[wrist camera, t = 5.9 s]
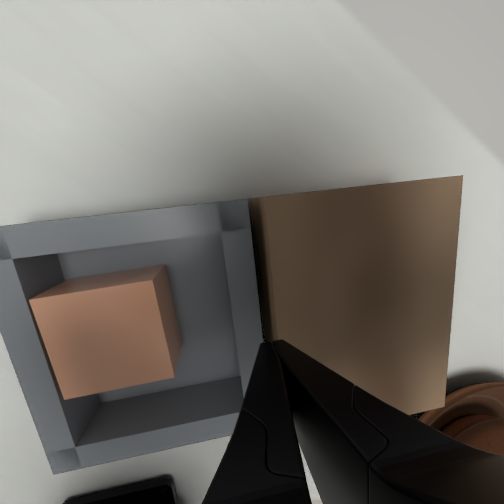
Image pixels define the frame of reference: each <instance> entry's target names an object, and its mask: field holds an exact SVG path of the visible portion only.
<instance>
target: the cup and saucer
mask: <svg viewBox="0 0 504 504" xmlns="http://www.w3.org/2000/svg"><path fill="white" fill-rule="evenodd" d="M418 420H419V421H421V422H423V423H425V424H427V425H429V426H431V427H433V428H435V429H437V430H439V431H441V432H443V433H444V434H446V435H448V436H450V437H452V438H454V439H456V440H458V441H460V442H462V443H464V444H466V445H469V446H471V447H474V448H476V449H479V450H483V451H486V452H490V453H495V454H500V455H504V382H492V383H481V384H475V385H471V386H467V387H464V388H461V389H459V390H457V391H454V392H452V393H450V394H449V395H447V396H445V406H444V407H441V408H437V409H433V410H428V411H425V412H424V413H423V414H422V416H421V417H420V418H419V419H418Z"/></svg>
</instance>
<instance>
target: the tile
mask: <svg viewBox="0 0 504 504" xmlns="http://www.w3.org/2000/svg"><path fill="white" fill-rule="evenodd" d="M29 302H30V305H31V308H32V310H33V313H34V316H35V319H36V322H37V325H38V327H39V330H40V333H41V336H42V339H43V342H44V344H45V347H46V350H47V353H48V356H49V359H50V361H51V364H52V367H53V370H54V373H55V376H56V378H57V381H58V384H59V387H60V390H61V392H62V395H63V398H64V400H67V399H71V398H76V397H81V396H86V395H91V394H96V393H101V392H106V391H110V390H115V389H120V388H125V387H130V386H135V385H140V384H145V383H149V382H154V381H159V380H164V379H169V378H174V377H175V373H176V369H177V365H178V361H179V357H180V352H181V348H182V340H181V335H180V331H179V326H178V321H177V317H176V312H175V307H174V302H173V298H172V293H171V288H170V283H169V279H168V274H167V269H166V265H165V264H163V265H157V266H150V267H144V268H137V269H131V270H124V271H118V272H111V273H105V274H98V275H92V276H85V277H79V278H72V279H68V280H66V281H64V282H62V283H60V284H58V285H56V286H54V287H52V288H50V289H48V290H47V291H45V292H43V293H41V294H39V295H37V296H35V297H33V298H31V299H29Z"/></svg>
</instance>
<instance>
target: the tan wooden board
mask: <svg viewBox="0 0 504 504" xmlns="http://www.w3.org/2000/svg"><path fill="white" fill-rule="evenodd" d="M462 182H463V175H462V176H452V177H443V178H434V179H424V180H415V181H405V182H396V183H387V184H378V185H369V186H360V187H350V188H341V189H332V190H323V191H314V192H305V193H296V194H287V195H278V196H269V197H260V198H251V199H250V204H251V213H252V223H253V232H254V241H255V251H256V260H257V269H258V279H259V288H260V298H261V307H262V316H263V326H264V335H265V342H269V341H270V342H272V341H274V340H280V339H283V340H285V341H286V342H288V343H290V344H291V345H293V346H294V347H296V348H298V349H299V350H301V351H302V352H304V353H306V354H307V355H309V356H310V357H312V358H314V359H315V360H317V361H318V362H320V363H322V364H323V365H325V366H326V367H328V368H330V369H331V370H333V371H334V372H336V373H338V374H339V375H341V376H342V377H344V378H346V379H347V380H349V381H350V382H352V383H354V384H355V385H357V386H359V387H360V388H362V389H363V390H365V391H367V392H368V393H370V394H372V395H373V396H375V397H377V398H378V399H380V400H382V401H383V402H385V403H387V404H389V405H391V406H393V407H395V408H396V409H398V410H400V411H402V412H404V413H406V414H408V415H411V414H416V413H420V412H424V411H428V410H433V409H437V408H441V407H444V406H445V393H446V381H447V368H448V356H449V344H450V331H451V319H452V306H453V294H454V281H455V269H456V256H457V244H458V232H459V219H460V207H461V194H462Z"/></svg>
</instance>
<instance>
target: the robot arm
mask: <svg viewBox="0 0 504 504" xmlns="http://www.w3.org/2000/svg"><path fill="white" fill-rule="evenodd" d="M298 442H299V443H298ZM299 444H300V447H301V449H302V452H303V454H304V457H305V460H306V462H307V465H308V467H309V470H310V472H311V475H312V477H313V480H314V482H315V485H316V487H317V490H318V493H319V495H320V498H321V500H322V503H323V504H504V455H500V454H495V453H490V452H486V451H483V450H479V449H476V448H474V447H471V446H469V445H466V444H464V443H462V442H460V441H458V440H456V439H454V438H452V437H450V436H448V435H446V434H444V433H443V432H441V431H439V430H437V429H435V428H433V427H431V426H429V425H427V424H425V423H423V422H421V421H419V420H417V419H415V418H413V417H412V416H410V415H408V414H406V413H404V412H402V411H400V410H398V409H396V408H395V407H393V406H391V405H389V404H387V403H385V402H383V401H382V400H380V399H378V398H377V397H375V396H373V395H372V394H370V393H368V392H367V391H365V390H363V389H362V388H360V387H359V386H357V385H355V384H354V383H352V382H350V381H349V380H347V379H346V378H344V377H342V376H341V375H339V374H338V373H336V372H334V371H333V370H331V369H330V368H328V367H326V366H325V365H323V364H322V363H320V362H318V361H317V360H315V359H314V358H312V357H310V356H309V355H307V354H306V353H304V352H302V351H301V350H299V349H298V348H296V347H294V346H293V345H291V344H290V343H288V342H286V341H285V340H283V339H280V340H274V341H272V342H270V341H269V342H263V343H260V346H259V349H258V352H257V356H256V359H255V362H254V366H253V369H252V372H251V376H250V379H249V382H248V386H247V389H246V393H245V396H244V399H243V403H242V406H241V410H240V412H239V416H238V419H237V422H236V425H235V428H234V431H233V434H232V437H231V439H230V441H229V444H228V446H227V449H226V451H225V453H224V456H223V458H222V460H221V462H220V465H219V467H218V469H217V471H216V473H215V476H214V478H213V480H212V482H211V484H210V487H209V489H208V491H207V493H206V495H205V498H204V500H203V502H202V504H312V502H311V499H310V494H309V490H308V486H307V482H306V476H305V471H304V467H303V462H302V457H301V453H300V448H299ZM63 504H178V500H177V495H176V491H175V487H174V483H173V480H172V479H170V478H161V479H156V480H152V481H148V482H144V483H139V484H135V485H131V486H127V487H122V488H118V489H114V490H110V491H106V492H101V493H97V494H93V495H89V496H84V497H80V498H76V499H72V500H68V501H65V502H64V503H63Z"/></svg>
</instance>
